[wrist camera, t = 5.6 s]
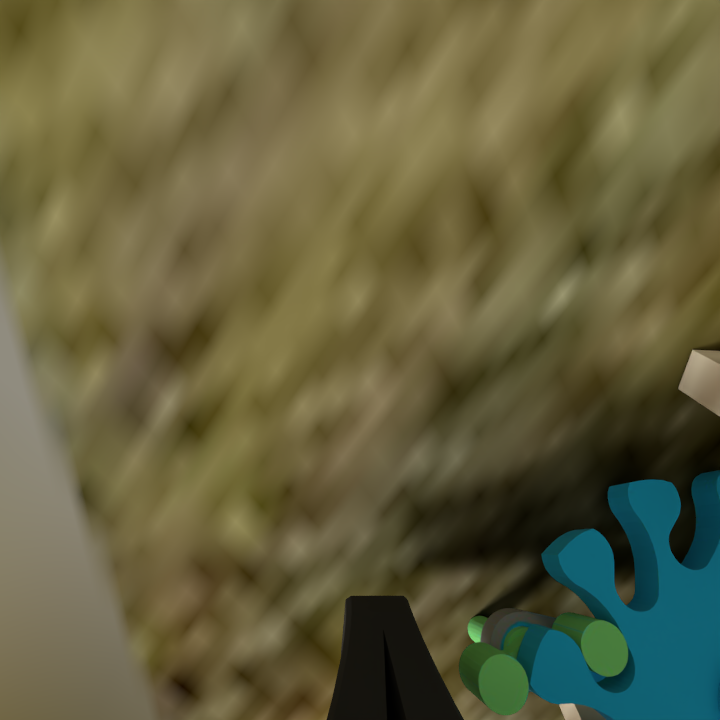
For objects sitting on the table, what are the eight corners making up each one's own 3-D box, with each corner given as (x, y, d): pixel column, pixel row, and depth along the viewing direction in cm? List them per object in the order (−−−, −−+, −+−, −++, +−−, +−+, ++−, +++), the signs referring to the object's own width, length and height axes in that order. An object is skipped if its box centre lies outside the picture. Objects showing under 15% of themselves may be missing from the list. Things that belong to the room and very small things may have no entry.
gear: (963, 516, 11) (1148, 1176, 7) (747, 527, 17) (789, 908, 13) (513, 410, 11) (460, 1031, 7) (444, 456, 16) (393, 822, 13)
